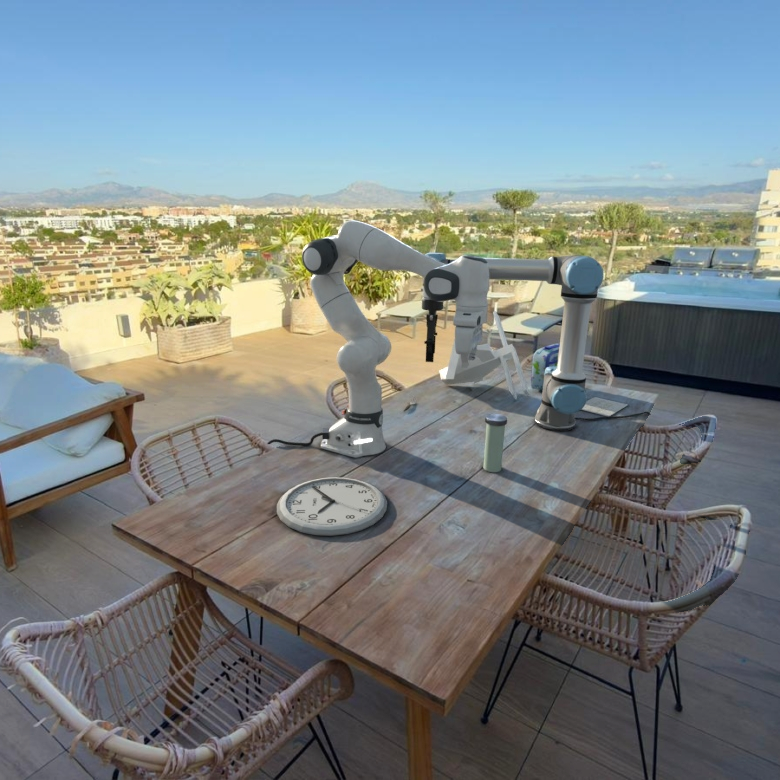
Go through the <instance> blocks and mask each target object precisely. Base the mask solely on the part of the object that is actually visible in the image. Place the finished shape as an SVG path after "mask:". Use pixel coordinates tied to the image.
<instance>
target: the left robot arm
mask: <svg viewBox="0 0 780 780" xmlns="http://www.w3.org/2000/svg"><path fill="white" fill-rule="evenodd" d="M337 232H338V233H337V235H329V236H326V237H322V238H316V239H314V240H311V241H310V242H308V243H307V244H306V245H305V246H304V248H303V249H302V252H301V261H302V265H303V266H304V268H305V270H306V271H307V272H309V273H310V274H312V276H311V278H310V280H309V285H310V289H311V292H312V294H313V297H314V298H315V301H316V303H317V305H318V306H319V308H320V311H321V312H322V314H323V316H324V317H325V320H326V321H327V323H328V324H329V326H330V328H331V329H332V331H333V332H335V333H336V334H339V335H340V336H341V337H343V339H345V341H346V342H345V343H344V344H343V345H342V346H341V347H340V348H339V350H338V351H337V354H336V363H337V365H338V367H339V369H340V370H341V371H342V372H343V373H344V375H345V379H346V382H347V383H346V384H347V387H348V389H347V390H348V405H347V406H346V407H345V408H344V409H343V411H341V416H344V417H342V418H340V419H339V420H337V421H336V422H335V423H333V424H332V425H331V426H330V428H328V427H327V428H324V427H323V428H322V431H320V432H318V433H316V434H314V435H312V437H311V438H310V441H308V442H295V441H294V442H293V441H286V440H282V439H279V438H274V439H271V440H269V441H268V442H266V444H267V445H271V444H272V443H279V444H283V445H287V446H297V447H299V446H301V447H309V446H311V445H312V444H313V443H314V440H315V439H316V438H318V437H321V436H322V438H321V439H322V440H321V442H320V449H323V450H326V451H329V452H333V453H336V454H341V455H343V456H347V457H351V458H355V459H356V458H361V457H363V456H372V455H377V454H380V453H382V452H384V451H385V450H386V448H387V446H386V443H385V442H386V441H385V438H384V432H383V423H384V410H383V409H384V408H383V407H382V402H383V401H382V399H383V398H382V397H383V391H382V390H383V389H382V385H381V384H380V382H379V381H378V377H377V371H376V369H377V366H379V365H380V364H383V363H384V362H385V361H386V360H387V359H388V357H389V356H390V354H391V353H392V343H391V340H390V339H389V337H388V336H387V335H386V334H384V333H382V332H380V331H379V330H378V329H377V328H376V327H375V326H374V325H373V324H372V323H371V321H370V320H369V319H368V317H366V316H365V314H364V312H362V310H361V308H360V307H359V305H358V303H357V302H356V300H355V298H354V297H353V295H352V293H351V291H350V289H349V288H348V286H347V285H346V282H345V279H344V275H349V274H350V273H351V271H352V270H353V268H354V267H355V266H356V265H357V264H358V262H360V263H362V264H363V265H365V266H367V267H369V268H372V269H375V270H377V271H378V270H379V271H382V272H383V271H384V272H386V271H387V272H388V271H389V272H390V271H391V272H392V271H393V272H394V271H399V272H400V271H401V272H402V271H403V272H410V273H413V274H416V275H418V276H420V277H422V278H423V277H424V278H425V279H424V290H425V293H426V295H427V296H428V297H429V298H430V299H432V300H434V301H438V302H443V303H444V302H448V301H449V302H450V301H454V302H455V311H454V316H453V321H452V325H453V326H454V339H455V350H456V353H457V354H461V361H462V365H461V366H462V368H467V367H468V366H469V360H474V359H475V357H476V350H477V346H478V345H480V343H481V342H482V340H483V324H485V323H487V321H488V310H489V309H488V308H489V302H488V293H489V291H490V279H489V266H488V262H487V261H486V260H485V259H483V258H484V257H481V256H477V255H472V254H463V255H461V256H460V257H458V258H459V259H457V258H456V259H457V260H456V259H455V260H456V261H454V262H452V263H450V264H446V263H443V262H441V261H438V260H436V259H434V258H432V257H430V256H427V255H425V254H426V253H423V252H420V251H418V250H416V249H415V248H413V247H411V246H410V245H407V244H406V243H404V242H402V241H401V240H399V239H398V238H395V237H394V236H392V234H391V235H390V234H389V233H387V232H385V230H382V229H380V228H378V227H375V226H373V225H371V224H369V223H365V222H362V221H358V220H355V219H354V220H353V219H351V220H347V221H345V222H344V223H343V224H342V225H341V226H340V228H339V229H338V231H337Z"/></svg>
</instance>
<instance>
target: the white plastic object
mask: <svg viewBox="0 0 780 780" xmlns="http://www.w3.org/2000/svg"><path fill="white" fill-rule="evenodd" d="M492 315H493V319H494V321H495V324H496V325H495V326H496V328H497V332H498V335H499V338H500V342H501V345H502V347H500V348H498V349H496V350H495V349H493V348H492V347H491V346H490V344H489V343H488V342H487V343H483V344H478V345H477V350H476V357H475V359H474V360H469V366H468V367H467V368H462V366H461V365H462V361H461V354H457V353H456V350H455V338H454V340H453V344H452V349H451V353H450V357H449V362H448V366H446V367H444V368H442V369H440V370H439V371H438V372H439V376H440V381H442V383H443V384H444V385H445V386H449V385H458V384H467V383H468V384H469V383H473V384H477V383H480V382H482V381H484V378H485V377H486V376H487V375H489V374H490V373H492V372H494V371H495V370H496V369H497V368H499V367H500V366H502V370H503V373H504V376H505V380H506V383H507V386H508V390H509V393H510V394H511V395H512V397H513V398H514V399H515V400H517V392H516V391H517V390H516V388H515V385H514V381H513V378H512V375H511V371H510V369H509V365H508V361H510V360H513V363H514V366H515V369H516V372H517V376H518V380H519V382H520V385H521V389H522V391H523V393H524V395H525V396H526V397H528V396H531V395H530V390H529V388H528V387H529V386H528V384H527V381H526V378H525V375H524V371H523V369H522V368H523V367H522V366H521V362H520V359H519V355H518V352H517V349H516V347H515V346H514V345H513V343H511V344H508V341H507V337H506V334H505V331H504V328H503V325H502V321H501V318H500V315H499V314H498V312H497V311H496V310H495V311H492Z"/></svg>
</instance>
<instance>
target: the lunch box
mask: <svg viewBox="0 0 780 780" xmlns="http://www.w3.org/2000/svg"><path fill="white" fill-rule="evenodd" d="M559 346H560V343H553V344H550V345H547V346H546V345H545V346H544V347H541V348H538V349H537V350H536V351H535V352H534V354H533V357H532V362H531V371H530V372H531V374H530V387H531V389H533V390H539V391H543V382H544V373H545V369H546V368H547V367H553V366H557V364H558V355H559Z"/></svg>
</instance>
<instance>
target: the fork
mask: <svg viewBox="0 0 780 780" xmlns="http://www.w3.org/2000/svg"><path fill="white" fill-rule="evenodd" d="M418 398H419V397H418V396H413V397H412V398H411V400H410V402H409V404H408V405H407V406H406V407H405V409H404V410H403V412H405V411H407V410H408V409H410V408H411V406H412V405H416V404H417V402H418Z"/></svg>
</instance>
